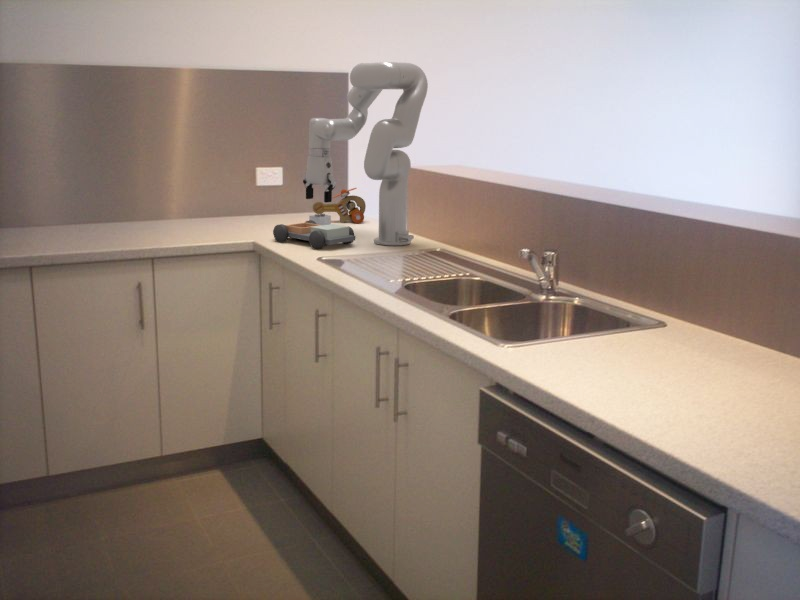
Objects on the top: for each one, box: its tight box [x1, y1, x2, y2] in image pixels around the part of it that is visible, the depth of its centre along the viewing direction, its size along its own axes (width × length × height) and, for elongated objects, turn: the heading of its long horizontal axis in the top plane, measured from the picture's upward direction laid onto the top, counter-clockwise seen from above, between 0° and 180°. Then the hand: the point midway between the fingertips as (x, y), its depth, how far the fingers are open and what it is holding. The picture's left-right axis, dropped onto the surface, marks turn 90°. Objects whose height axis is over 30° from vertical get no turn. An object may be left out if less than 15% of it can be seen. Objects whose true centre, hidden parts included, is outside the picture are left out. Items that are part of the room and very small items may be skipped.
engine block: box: [308, 213, 332, 225], centre depth 323 cm, size 5×6×6 cm
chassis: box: [272, 220, 356, 250], centre depth 299 cm, size 28×15×6 cm, turn 48°
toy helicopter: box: [312, 187, 366, 224], centre depth 345 cm, size 8×21×14 cm, turn 101°
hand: (318, 200), depth 321 cm, fingers open, 9 cm apart
